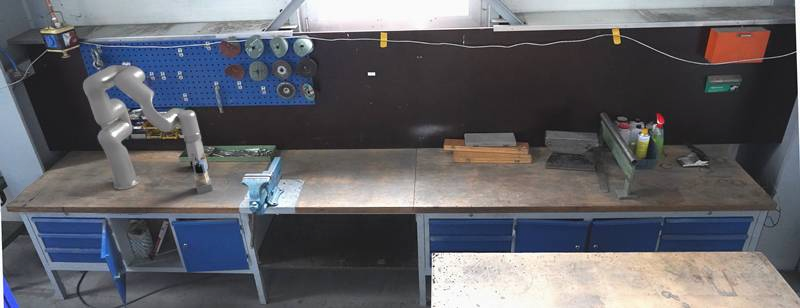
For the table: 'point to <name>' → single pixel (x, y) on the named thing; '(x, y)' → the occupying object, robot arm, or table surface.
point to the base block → (204, 187)
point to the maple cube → (201, 178)
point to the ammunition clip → (197, 159)
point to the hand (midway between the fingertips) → (201, 169)
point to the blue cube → (203, 164)
